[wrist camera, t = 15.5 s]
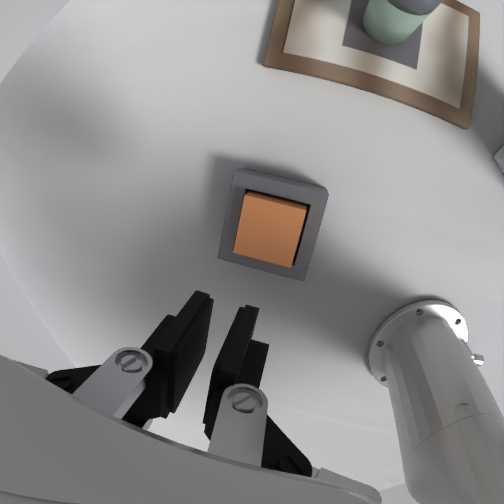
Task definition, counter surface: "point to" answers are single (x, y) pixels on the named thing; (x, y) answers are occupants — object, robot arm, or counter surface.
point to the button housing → (282, 188)
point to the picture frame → (382, 54)
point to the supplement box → (500, 158)
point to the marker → (395, 19)
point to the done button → (269, 228)
